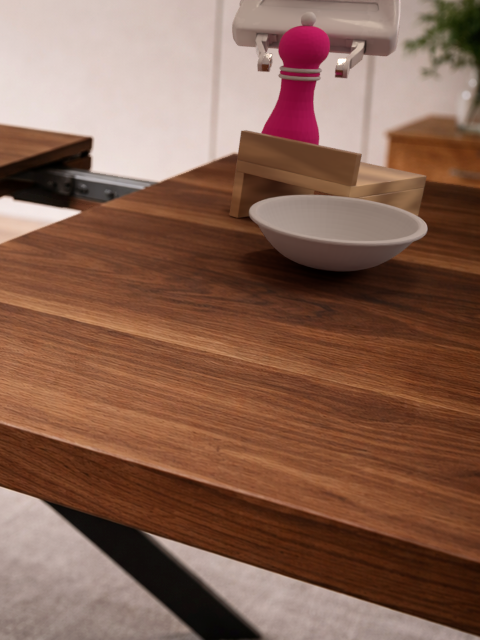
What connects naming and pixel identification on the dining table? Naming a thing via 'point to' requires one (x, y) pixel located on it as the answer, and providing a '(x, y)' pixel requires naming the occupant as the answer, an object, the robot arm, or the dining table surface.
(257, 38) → the robot arm
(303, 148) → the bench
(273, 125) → the pepper mill
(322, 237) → the dish
